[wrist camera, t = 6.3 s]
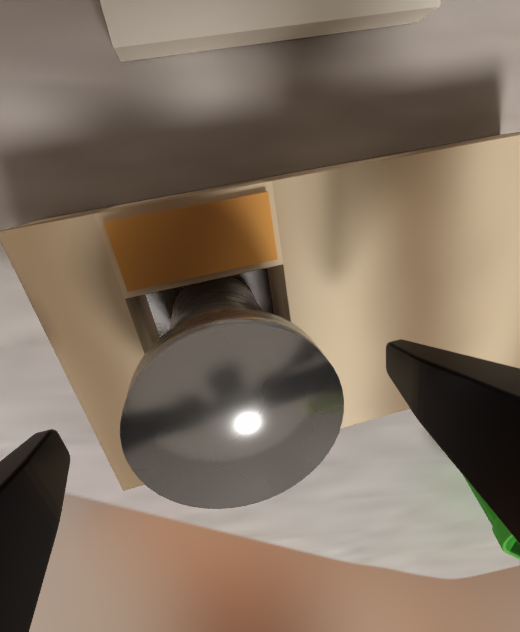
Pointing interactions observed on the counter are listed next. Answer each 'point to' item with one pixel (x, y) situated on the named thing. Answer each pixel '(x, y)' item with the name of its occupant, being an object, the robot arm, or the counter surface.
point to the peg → (229, 402)
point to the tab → (243, 22)
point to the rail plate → (293, 269)
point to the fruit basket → (499, 528)
